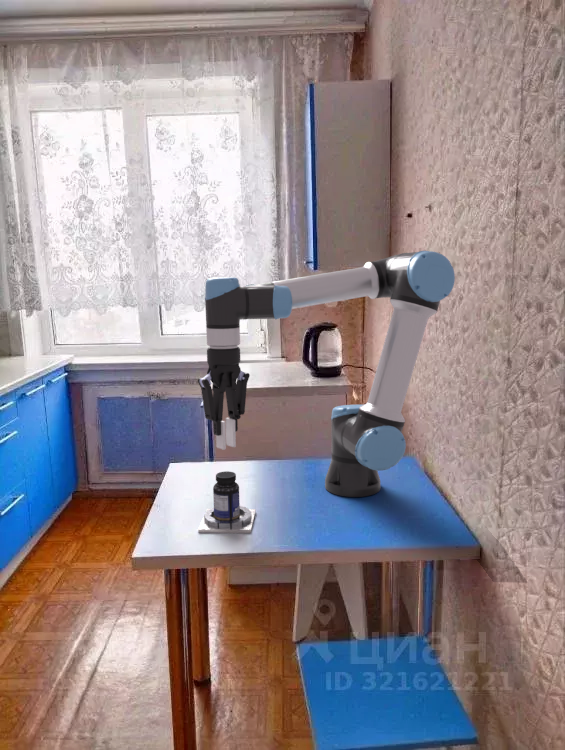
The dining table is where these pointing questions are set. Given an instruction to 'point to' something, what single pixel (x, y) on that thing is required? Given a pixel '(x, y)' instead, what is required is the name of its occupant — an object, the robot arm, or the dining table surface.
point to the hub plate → (228, 522)
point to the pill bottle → (226, 497)
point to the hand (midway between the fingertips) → (226, 446)
